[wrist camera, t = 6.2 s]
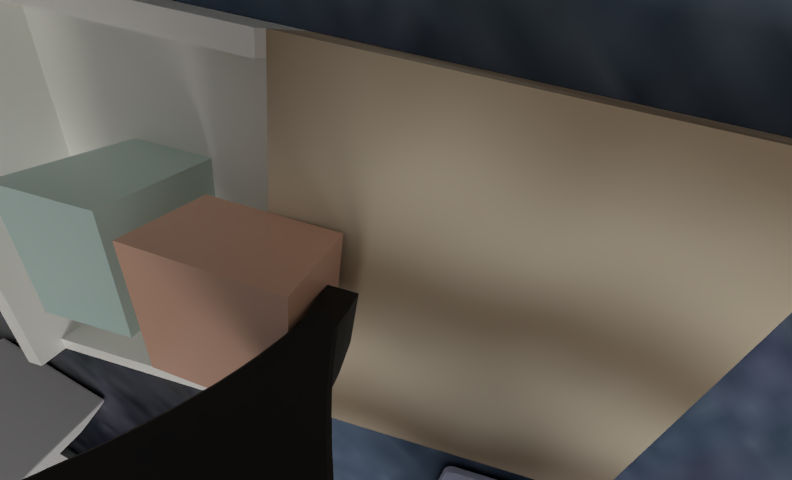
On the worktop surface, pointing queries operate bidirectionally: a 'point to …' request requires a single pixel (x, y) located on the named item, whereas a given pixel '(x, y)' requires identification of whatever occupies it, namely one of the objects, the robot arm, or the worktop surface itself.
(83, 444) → the worktop surface
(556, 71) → the worktop surface
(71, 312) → the sage green cube
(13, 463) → the milk carton
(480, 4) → the worktop surface
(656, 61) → the worktop surface
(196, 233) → the salmon pink cube
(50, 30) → the tray
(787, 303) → the beech board
